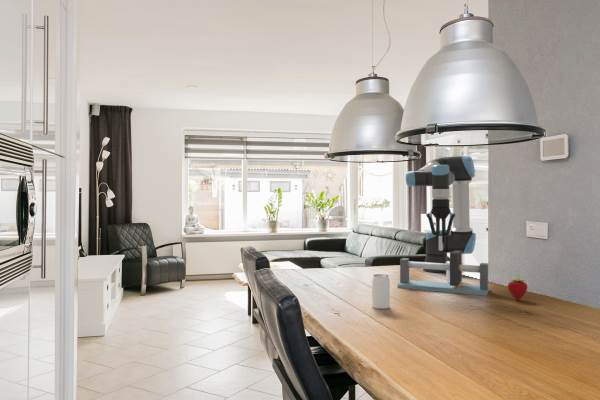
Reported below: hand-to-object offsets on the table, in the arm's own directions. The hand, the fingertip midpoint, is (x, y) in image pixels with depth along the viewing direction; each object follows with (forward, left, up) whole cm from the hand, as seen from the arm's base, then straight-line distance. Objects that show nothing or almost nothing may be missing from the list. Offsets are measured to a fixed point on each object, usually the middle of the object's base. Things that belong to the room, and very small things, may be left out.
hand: (440, 250), depth 206 cm
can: (+48, -13, -18) cm, 53 cm away
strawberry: (+10, +32, -18) cm, 38 cm away
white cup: (-19, +3, -18) cm, 26 cm away
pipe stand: (0, +1, -17) cm, 17 cm away
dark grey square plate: (0, +7, -14) cm, 16 cm away
